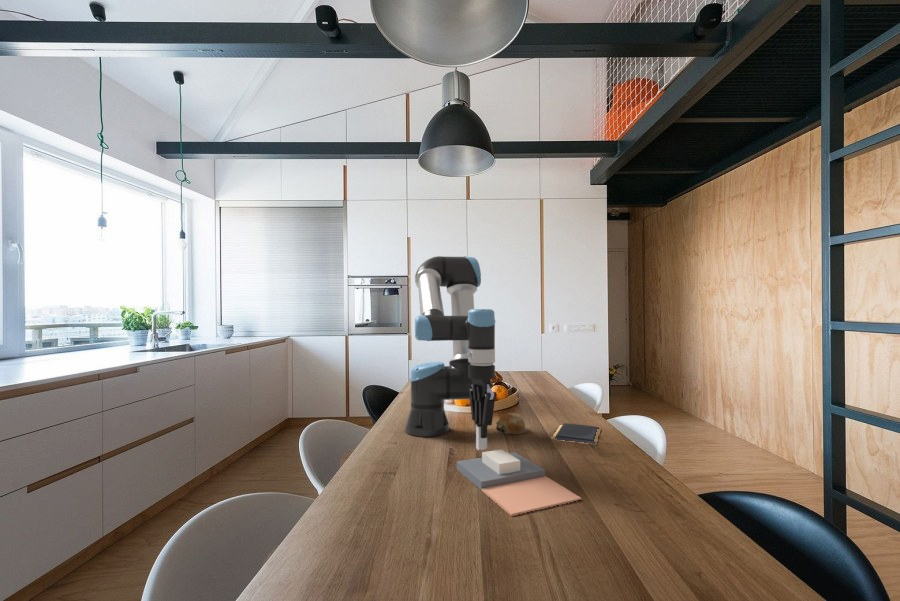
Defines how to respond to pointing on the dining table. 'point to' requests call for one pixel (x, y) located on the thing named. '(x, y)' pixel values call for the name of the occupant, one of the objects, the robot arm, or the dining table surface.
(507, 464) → the tile
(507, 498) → the mat
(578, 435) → the dark grey book
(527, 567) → the dining table surface
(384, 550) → the dining table surface
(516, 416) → the bread roll
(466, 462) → the grey slab
